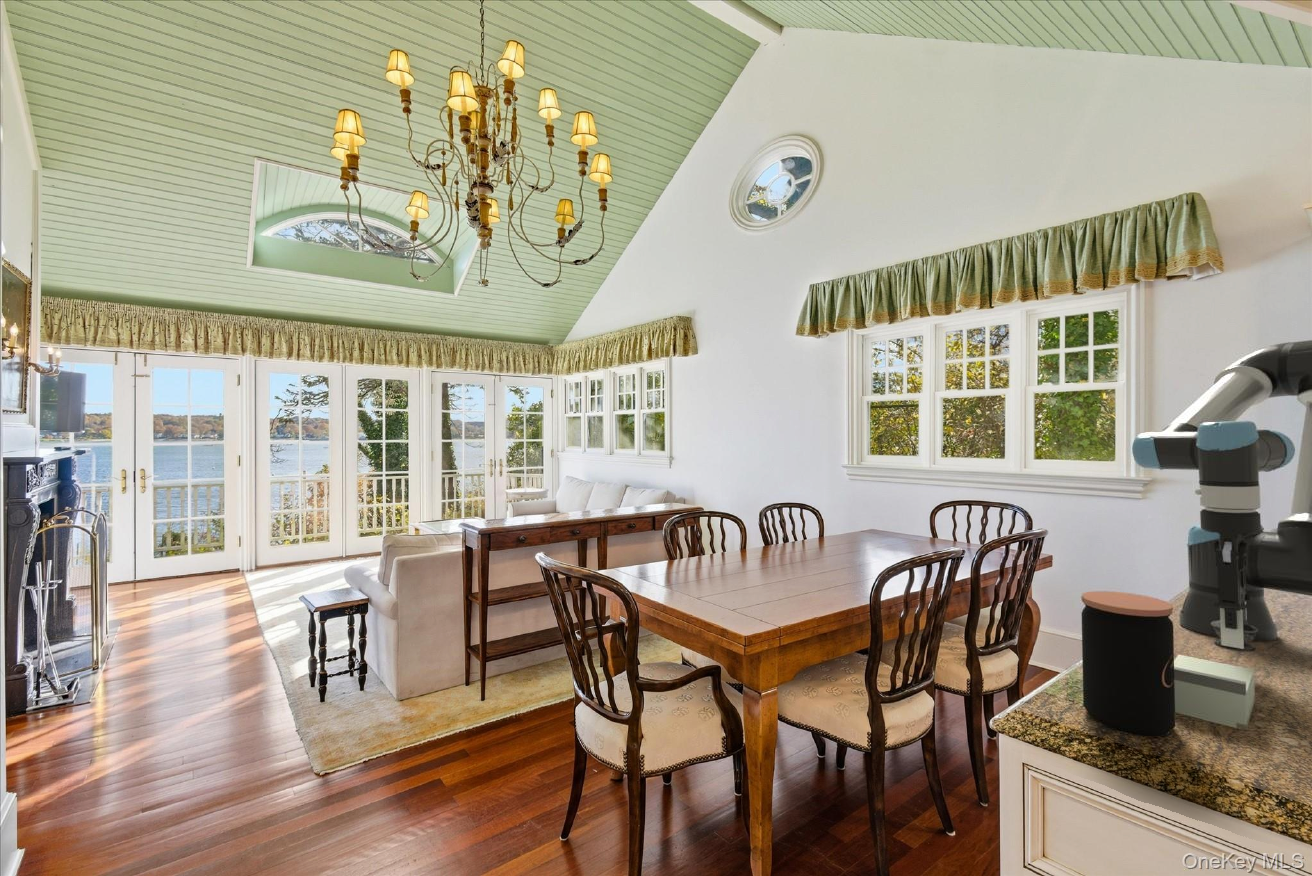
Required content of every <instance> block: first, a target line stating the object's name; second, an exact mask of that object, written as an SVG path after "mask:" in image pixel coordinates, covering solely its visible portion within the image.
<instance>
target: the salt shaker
mask: <svg viewBox="0 0 1312 876" xmlns="http://www.w3.org/2000/svg"><path fill="white" fill-rule="evenodd" d="M1240 593H1241V606H1242V613H1243V638H1244V649H1241V648H1235V647H1230V646H1224V645H1221V624H1220V620H1219V621H1213V622H1212V623H1211V625H1212V626H1214V630H1215V632H1216V634H1217V635H1218V636H1219V637H1218V638H1220V639H1218V640H1215V641H1214V642H1213V645H1214V646H1216V647H1219V648H1222V649H1223V650H1224V649H1225V650H1227V651H1232V652H1239V653H1254V652H1256V651H1257V650H1258V649H1257V648H1256V647H1255V646H1253V644H1251V643H1250V642H1253V641H1252V640H1253V639H1254V637H1255V636H1256V632H1258V629H1257V628H1256V627H1254V626H1251V625H1249V624H1248V622H1247V619H1246V608H1247V607H1248V606H1247V605H1246V604H1245V596H1244V588H1243V587H1242V586H1240ZM1227 601H1229V600H1227Z"/></svg>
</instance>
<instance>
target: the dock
mask: <svg viewBox="0 0 1312 876" xmlns="http://www.w3.org/2000/svg"><path fill="white" fill-rule="evenodd" d="M1174 684H1175V714H1180V715H1184V716H1187V717H1192V718H1194V719H1195V718H1196V719H1199V720H1204V721H1206V722H1211V723H1215V724H1219V725H1223V726H1225V727H1230V728H1235V729H1239V730H1242V731H1245V732H1246V731H1247V730H1248V726H1249V723H1250V719H1251V715H1252V713H1253V708H1254V705H1255V702H1256V695H1255V693H1256V692H1255V691H1256V690H1255V669H1251V668H1247V667H1243V666H1238V665H1233V664H1228V663H1227V664H1226V663H1223V662H1222V663H1221V662H1217V661H1212V660H1207V659H1203V658H1197V657H1191V656H1187V655H1184V654H1183V655H1182V654H1177V656H1176V657H1175V658H1174Z"/></svg>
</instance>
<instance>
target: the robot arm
mask: <svg viewBox="0 0 1312 876" xmlns="http://www.w3.org/2000/svg"><path fill="white" fill-rule="evenodd" d="M1289 396H1291V397H1292V396H1293V397H1295V396H1296V399H1297V402H1299V403H1300V404H1302V405H1303V406H1304V407H1306V408H1305V414H1304V421H1303V426H1302V435H1301V441H1300V442H1301V443H1300V449H1299V455H1298V462H1297V468H1296V475H1295V483H1294V489H1293V496H1292V503H1291V510H1290V515H1289V516H1287V517H1286V518H1284V519H1282V520H1279V521H1278V523H1277V529H1276V531H1275V532H1273V531H1264V530H1265V529H1264V526H1263V525H1262V523H1261V522H1262V521H1261V513H1259V512H1258V511H1256V510H1258V509H1260V508H1261V488H1260V487H1261V486H1260V481H1259V479H1260V478H1259V476H1260V475H1259V474H1260V473H1259V472H1265V473H1267V472H1271V471H1276V470H1278V469H1281V468H1283V467H1285V466H1287V465H1288V464H1290V462H1291V461H1292V460H1293V459H1294V457H1295V454H1296V447H1295V444H1294V443H1293V440H1291V438H1289V436H1287V435H1285V434H1284V433H1283V432H1279V431H1276V430H1271V429H1265V428H1264V429H1257V425H1256V423H1255V422H1254V421H1250V420H1238V419H1239V418H1240V417H1241V416H1242V415H1243V414H1244V413H1245V412H1246V411H1248V410H1249V409H1250V408H1251V407H1252V406H1256V405H1258V404H1261V403H1263V402H1265V401H1266V400H1267V399H1269V398H1277V397H1289ZM1131 450H1132V453H1131V454H1132V457H1133V460H1134V462H1135V463H1136V465H1138V466H1139V467H1141V468H1144V469H1154V470H1155V469H1156V470H1160V471H1161V470H1162V471H1163V470H1181V471H1183V470H1184V471H1186V470H1189V471H1198V477H1199V479H1198V484H1199V488H1198V489H1195V491H1194V493H1195V495H1199V496H1200V497H1199V504H1200V506H1201V507H1203V509H1201V510H1200V511H1199V516H1200V518H1199V520H1200V524H1195V525H1193V526H1191V527H1190V528H1189V530H1188V533H1187V534H1188V536H1187V544H1186V547H1187V558H1188V559H1187V560H1188V592H1187V595H1186V597H1185V599H1184V602H1183V604H1182V608H1181V610H1179V615H1178V617H1179V618H1178V619H1179V621H1178V623H1179V625H1181V626H1182V627H1183V628H1186V629H1188V630H1190V631H1194V632H1196V633H1200V634H1204V635H1209V636H1213V637H1218V638H1220V637H1219V636H1218V635H1217V634H1216V632H1215V630H1214V626H1212V625H1211V623H1212V622H1213V621H1219V620H1220V624H1221V638H1220V640H1221V645H1224V646H1230V647H1235V648H1241V649H1244V638H1243V613H1242V606H1241V593H1240V586H1242V587H1243V588H1244V596H1245V604H1246V605H1247V606H1248V607H1247V608H1246V619H1247V622H1248V624H1249V625H1251V626H1254V627H1256V628H1257V629H1258V632H1256V636H1255V637H1254V639H1253V640H1252V641H1251V642H1272V641H1275V640H1277V639H1278V627H1277V624H1275V622H1274V620H1273V617H1272V615H1271V612H1270V610H1269V607H1268V605H1267V602H1266V600H1265V589H1267V590H1272V591H1280V592H1285V593H1290V594H1291V593H1293V594H1298V595H1304V596H1309V597H1310V596H1311V597H1312V339H1309V340H1302V341H1301V340H1300V341H1293V342H1291V341H1290V342H1282V343H1277V344H1272V345H1269V346H1267V347H1263V348H1260V349H1258V350H1256V351H1253V352H1251V353H1248V354H1247V355H1244V356H1243V357H1241V358H1238V359H1237V360H1236V361H1234V362H1232V363H1231V364H1229V365H1228V366H1227V367H1225V368H1224V369H1222V370H1221V371H1220V372H1219V373H1218V374H1217V376H1216V377H1215V378H1214V381H1213V385H1212V386H1211V387H1210V388H1209V389H1208V390H1207V391H1206V392H1204V393H1203V394H1202V395H1200V397H1199V398H1197V400H1195V401H1194V402H1193V403H1192V404H1190V406H1188V407H1187V408H1186V409H1185V410H1184V411H1183V412H1182V413H1180V414H1179V415H1178V416H1177V417H1175V419H1174V420H1173V421H1171V422H1170V423H1169V424H1168V425H1167V426H1166V427H1165V428H1163V429H1162V430H1161V431H1157V432H1156V431H1149V432H1142V433H1139V434H1138V435H1136V437H1135V438H1134V440H1133V443H1132V447H1131ZM1227 600H1229V601H1227Z"/></svg>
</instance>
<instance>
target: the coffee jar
mask: <svg viewBox="0 0 1312 876" xmlns="http://www.w3.org/2000/svg"><path fill="white" fill-rule="evenodd" d="M1080 598H1081V601H1082V603H1083V605H1084V607H1083V608H1082V611H1081V648H1082V649H1081V653H1082V654H1081V655H1082V660H1081V661H1082V695H1083V696H1082V701H1083V702H1082V705H1083V707H1084V709H1085V711H1086V712H1087V714H1088V715H1089V716H1090V717H1091V719H1093V720H1094V721H1095V722H1097V723H1098V724H1100V725H1102V726H1104V727H1107V728H1108V729H1112V730H1114V731H1117V732H1119V733H1120V732H1121V733H1124V734H1128V735H1133V736H1138V735H1140V737H1144V736H1145V737H1146V738H1147V737H1148V738H1159V737H1165V736H1167V735H1168V734H1170V732H1171V731H1172V730H1174V729H1175V727H1176V713H1175V684H1174V660H1175V645H1174V644H1175V643H1174V641H1175V640H1174V622H1173V621H1172V620H1171V618H1170V616H1171V615H1172V614H1173V610H1174V609H1173V604H1171V603H1169V602H1168V601H1165V600H1163V599H1159V598H1157V597H1156V598H1155V597H1152V596H1148V595H1142V594H1137V593H1132V592H1131V593H1129V592H1124V591H1123V592H1122V591H1109V590H1107V591H1106V590H1094V591H1085V592H1084V593H1081V597H1080Z"/></svg>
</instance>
